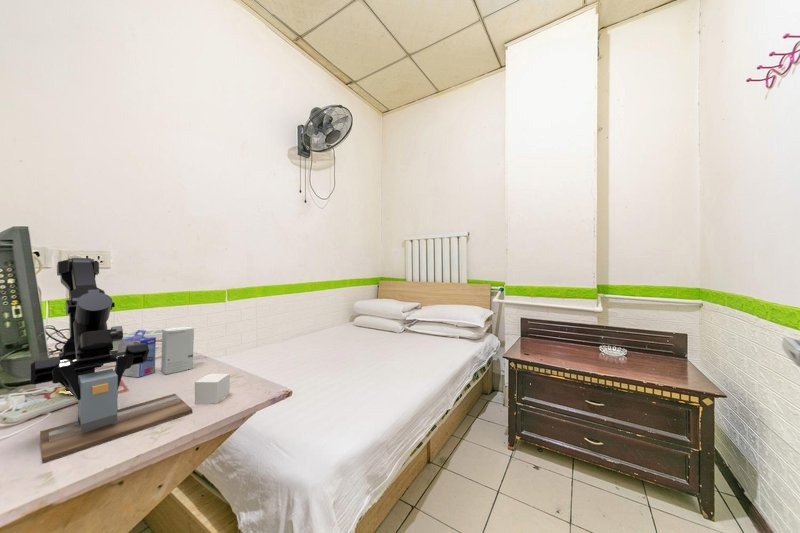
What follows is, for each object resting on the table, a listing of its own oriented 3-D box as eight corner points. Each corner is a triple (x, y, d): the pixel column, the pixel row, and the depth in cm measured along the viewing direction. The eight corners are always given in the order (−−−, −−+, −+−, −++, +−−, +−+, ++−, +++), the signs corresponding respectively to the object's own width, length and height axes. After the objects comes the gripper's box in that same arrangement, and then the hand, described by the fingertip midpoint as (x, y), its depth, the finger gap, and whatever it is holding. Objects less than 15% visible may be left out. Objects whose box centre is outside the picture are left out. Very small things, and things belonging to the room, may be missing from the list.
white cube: (217, 404, 79) (217, 382, 79) (194, 404, 79) (194, 382, 79) (229, 394, 85) (229, 373, 85) (208, 394, 85) (208, 373, 85)
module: (77, 422, 65) (78, 375, 65) (112, 412, 70) (112, 368, 70) (81, 433, 61) (81, 384, 61) (117, 422, 65) (118, 376, 65)
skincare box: (164, 375, 98) (165, 331, 98) (160, 371, 102) (160, 328, 102) (194, 368, 105) (194, 327, 104) (189, 364, 108) (189, 325, 108)
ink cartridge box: (156, 372, 101) (157, 330, 101) (139, 378, 96) (139, 334, 96) (134, 369, 103) (134, 328, 103) (116, 375, 98) (116, 332, 98)
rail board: (40, 435, 63) (40, 424, 63) (174, 397, 82) (174, 388, 82) (42, 463, 55) (42, 450, 55) (192, 412, 74) (192, 403, 74)
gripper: (30, 322, 60) (31, 390, 54) (147, 311, 75) (159, 363, 68) (30, 352, 65) (30, 418, 59) (139, 336, 80) (150, 387, 73)
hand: (98, 394), depth 65 cm, fingers closed on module, 5 cm apart
